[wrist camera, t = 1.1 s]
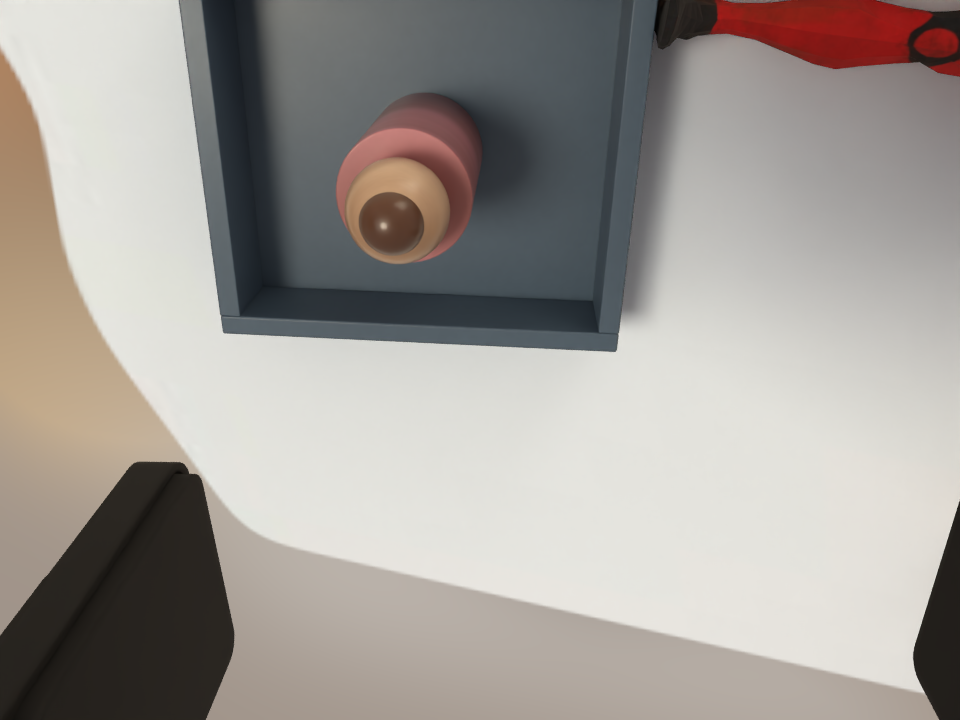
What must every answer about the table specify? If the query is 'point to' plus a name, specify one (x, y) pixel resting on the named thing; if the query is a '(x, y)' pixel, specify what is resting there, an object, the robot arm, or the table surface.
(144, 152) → the table surface
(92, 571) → the robot arm
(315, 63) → the tray
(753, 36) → the action figure
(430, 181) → the peg doll
